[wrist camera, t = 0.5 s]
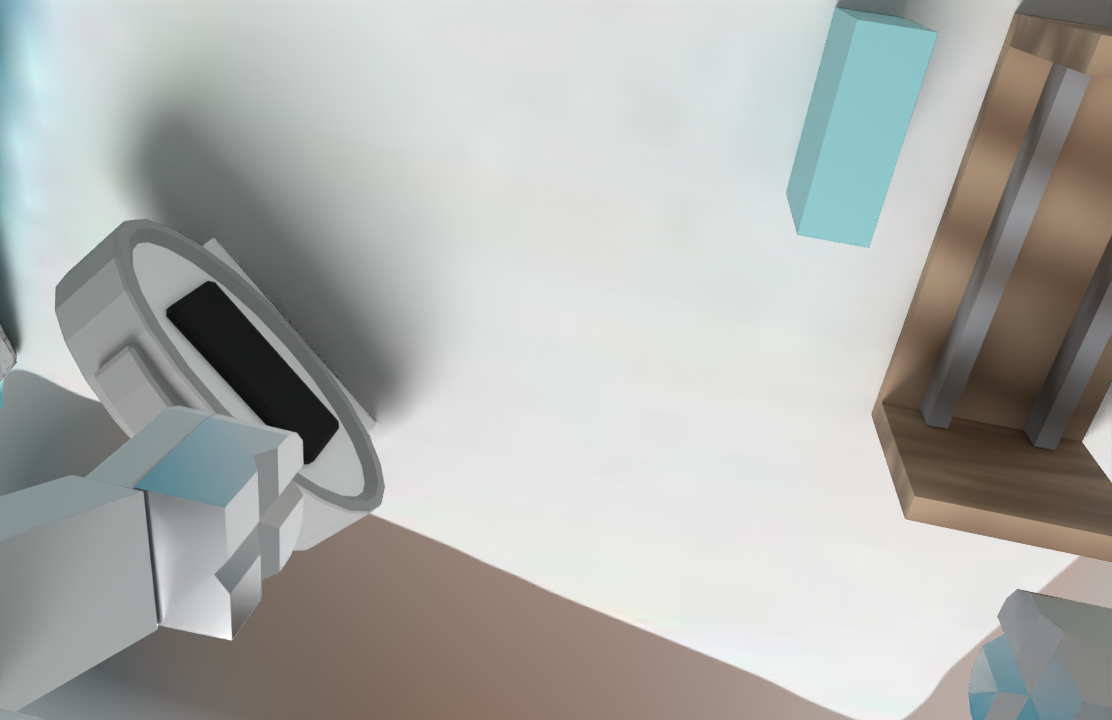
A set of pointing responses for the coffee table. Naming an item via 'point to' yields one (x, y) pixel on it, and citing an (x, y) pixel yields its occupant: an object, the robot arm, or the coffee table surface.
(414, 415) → the coffee table surface
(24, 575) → the robot arm
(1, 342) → the ray gun
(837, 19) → the door panel
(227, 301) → the alarm clock
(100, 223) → the coffee table surface
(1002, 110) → the cabinet base
